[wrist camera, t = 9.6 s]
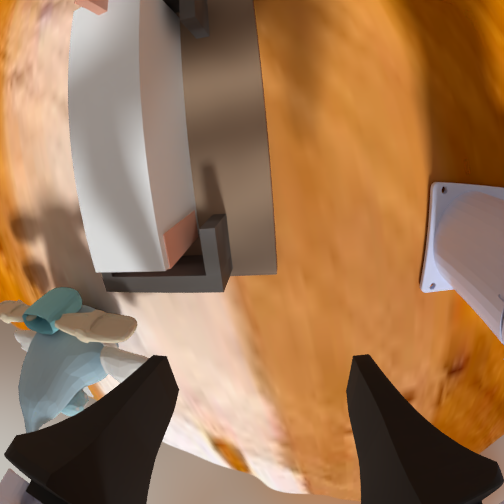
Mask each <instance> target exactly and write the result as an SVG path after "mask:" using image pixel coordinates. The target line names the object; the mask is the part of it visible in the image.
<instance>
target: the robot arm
mask: <svg viewBox="0 0 504 504" xmlns="http://www.w3.org/2000/svg"><path fill="white" fill-rule="evenodd" d="M443 187H444V188H445V190H444V192H443V193H442V188H443ZM432 283H433V285H432V286H431V287H430V285H431V284H432ZM420 289H421V290H422V291H423V292H424V293H427V292H436V291H444V290H452V289H455V290H456V291H457V292H458V294H459V295H460V296H461V297H462V298H463V299H464V300H465V301H466V302H467V303H468V304H469V305H470V306H471V307H472V308H473V310H474V311H475V312H476V313H477V314H478V315H479V316H480V317H481V319H482V320H483V321H484V322H485V323H486V324H487V326H488V327H489V328H490V329H491V330H492V331H493V333H494V334H495V335H496V336H497V337H498V339H499V340H500V341H501V342H502V344H503V345H504V188H503V187H494V186H485V185H474V184H462V183H449V182H434V183H433V184H432V185H431V189H430V208H429V221H428V232H427V241H426V250H425V257H424V264H423V270H422V276H421V282H420ZM178 392H179V388H178V386H177V383H176V381H175V378H174V375H173V373H172V370H171V367H170V364H169V362H168V359H167V356H157V355H153V356H152V357H151V358H149V359H148V360H147V361H146V362H145V363H144V364H142V365H141V366H140V367H139V368H138V369H137V370H136V371H134V372H133V373H132V374H131V375H130V376H129V377H127V378H126V379H125V380H124V381H123V382H122V383H120V384H119V385H118V386H117V387H115V388H114V389H113V390H112V391H110V392H109V393H108V394H106V395H105V396H104V397H102V398H101V399H100V400H98V401H97V402H95V403H94V404H92V405H91V406H90V407H88V408H86V409H84V410H83V411H81V412H79V413H78V414H76V415H74V416H72V417H70V418H68V419H66V420H64V421H62V422H59V423H57V424H54V425H52V426H49V427H47V428H44V429H41V430H37V431H34V432H29V433H26V434H21V435H16V437H15V438H14V440H13V441H12V443H11V444H10V446H9V447H8V449H7V451H6V452H5V454H4V455H5V457H6V458H7V459H8V460H9V461H10V462H11V463H12V464H13V465H14V466H15V467H17V468H18V469H19V470H20V471H21V472H22V473H24V474H25V475H26V476H27V477H28V478H30V479H31V482H30V484H29V483H28V482H27V481H25V480H24V479H23V478H21V477H20V476H19V475H17V474H16V473H15V472H14V471H13V470H11V469H8V471H7V473H6V474H5V476H4V477H3V479H2V481H1V483H0V504H146V502H147V495H148V489H149V484H150V479H151V474H152V470H153V466H154V462H155V459H156V455H157V453H158V450H159V447H160V445H161V442H162V440H163V437H164V435H165V432H166V430H167V427H168V425H169V422H170V420H171V417H172V414H173V412H174V409H175V405H176V401H177V396H178ZM346 393H347V403H348V412H349V417H350V422H351V426H352V431H353V435H354V440H355V444H356V449H357V454H358V459H359V466H360V480H361V504H482V500H483V499H484V498H486V497H487V496H489V495H490V494H491V493H493V492H494V491H496V490H497V489H498V488H499V487H500V486H501V485H502V484H503V482H504V479H503V476H502V473H501V470H500V468H499V465H498V463H497V462H495V461H493V460H491V459H488V458H486V457H483V456H481V455H479V454H477V453H475V452H473V451H471V450H469V449H467V448H465V447H463V446H462V445H460V444H458V443H457V442H455V441H454V440H452V439H451V438H449V437H448V436H447V435H445V434H444V433H442V432H441V431H440V430H438V429H437V428H436V427H434V426H433V425H432V424H431V423H430V422H428V421H427V420H426V419H425V418H424V417H423V416H422V415H421V414H420V413H419V412H417V411H416V410H415V409H414V408H413V407H412V405H411V404H410V403H409V402H408V401H407V400H406V399H405V398H404V397H403V396H402V395H401V394H400V392H399V391H398V390H397V389H396V388H395V387H394V386H393V384H392V383H391V382H390V381H389V380H388V378H387V377H386V376H385V375H384V373H383V372H382V371H381V369H380V368H379V367H378V366H377V364H376V363H375V362H374V360H373V359H372V358H371V356H370V355H369V354H367V355H357V356H353V359H352V365H351V370H350V375H349V380H348V385H347V390H346ZM500 504H504V501H503V502H501V503H500Z"/></svg>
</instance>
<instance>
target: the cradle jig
mask: <svg viewBox="0 0 504 504" xmlns="http://www.w3.org/2000/svg"><path fill="white" fill-rule="evenodd" d="M163 1H164V2H165V3H166V4H167V5H168V6H169V7H170V8H171V9H172V11H173V12H174V13H175V14H176V15H177V16H178V17H179V18H180V40H181V60H182V76H183V90H184V103H185V115H186V126H187V136H188V146H189V155H190V164H191V172H192V181H193V189H194V196H195V204H196V211H197V218H198V225H199V234H198V236H199V237H198V238H197V239H196V240H195V241H194V242H193V244H192V245H191V246H190V247H189V248H188V249H187V251H186V252H185V253H184V254H183V255H182V256H181V257H180V259H179V260H178V261H177V262H176V263H175V264H174V266H173V267H172V268H171V269H167V270H166V271H152V272H100V274H101V277H102V278H103V281H104V284H105V287H106V290H107V292H162V293H198V292H224V290H225V287H226V285H227V282H228V280H229V277H230V276H245V275H273V274H277V254H276V238H275V223H274V208H273V194H272V181H271V168H270V156H269V144H268V132H267V121H266V111H265V100H264V90H263V80H262V71H261V61H260V52H259V44H258V35H257V27H256V18H255V10H254V3H253V0H163Z"/></svg>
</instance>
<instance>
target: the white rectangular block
mask: <svg viewBox="0 0 504 504" xmlns="http://www.w3.org/2000/svg"><path fill="white" fill-rule="evenodd" d="M74 3H75V4H77V5H80V6H82V7H81V8H79V9H77V10H75V11H74V14H73V21H72V29H71V38H70V50H69V68H68V110H69V129H70V141H71V151H72V160H73V168H74V175H75V182H76V188H77V194H78V200H79V205H80V210H81V215H82V220H83V225H84V229H85V233H86V238H87V242H88V246H89V250H90V254H91V257H92V261H93V264H94V268H95V271H96V272H152V271H166V270H167V269H171V268H172V267H173V266H174V264H175V263H176V262H177V261H178V260H179V259H180V257H181V256H182V255H183V254H184V253H185V252H186V251H187V249H188V248H189V247H190V246H191V245H192V244H193V242H194V241H195V240H196V239H197V238H198V237H199V236H198V234H199V225H198V218H197V211H196V204H195V196H194V189H193V181H192V172H191V164H190V155H189V146H188V136H187V126H186V115H185V103H184V90H183V76H182V60H181V40H180V18H179V17H178V16H177V15H176V14H175V13H174V12H173V11H172V9H171V8H170V7H169V6H168V5H167V4H166V3H165V2H164V1H163V0H75V2H74Z"/></svg>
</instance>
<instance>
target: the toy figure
mask: <svg viewBox="0 0 504 504" xmlns="http://www.w3.org/2000/svg"><path fill="white" fill-rule="evenodd" d="M0 319H1V320H3V321H4V322H5V323H11V322H24V323H25V324H26V326H27V327H28V328H29V329H31V330H16V331H15V333H14V335H15V338H16V339H17V341H18V342H19V343H21V348H22V349H23V350H25V351H26V352H27V354H26V357H25V360H24V363H23V366H22V370H21V375H20V380H19V386H18V388H19V401H20V405H21V409H22V413H23V416H24V421H25V427H26V433H29V432H34V431H37V430H39V428H40V427H41V426H42V425H43V424H45V423H47V422H48V421H50V420H52V419H53V418H55V417H56V416H57V415H58V414H59V413H61V412H62V413H63V414H65V415H68V416H74V415H76V414H78V413H79V412H81V411H83V410H84V408H85V406H86V404H87V402H88V401H89V399H88V396H91V397H93V395H92V393H91V392H90V390H89V389H88V387H87V386H89V385H91V384H94V383H97V382H99V381H101V380H102V379H104V378H105V377H106V376H107V375H108V374H110V375H111V376H112V377H113V378H114V379H116V380H117V381H118V382H120V383H122V382H123V381H124V380H125V379H126V378H127V377H129V376H130V375H131V374H132V373H133V372H134V371H136V370H137V369H138V368H139V367H140V366H141V365H142V364H144V363H145V362H146V361H147V360H148V359H149V358H147V357H145V356H142V355H138V354H134V353H130V352H127V351H124V350H121V349H119V346H118V343H119V342H124V341H126V340H127V339H129V338H130V337H131V336H132V335H133V333H134V331H135V330H136V327H137V321H136V320H135V318H133V317H130V316H124V315H119V314H112V313H106V312H104V311H102V310H96V309H94V308H92V307H90V306H86V305H82V299H81V296H80V294H79V293H78V291H76V290H74V289H72V288H66V287H60V288H55V289H53V290H50V291H49V292H47V293H46V294H45V295H44V296H42V297H41V298H40V299H39V300H37V301H36V302H35V303H34V304H33V305H31V306H29V305H26V304H24V303H23V302H22V301H21V300H18V301H3V302H1V303H0ZM82 389H83V390H84V391H83V390H82Z"/></svg>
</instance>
